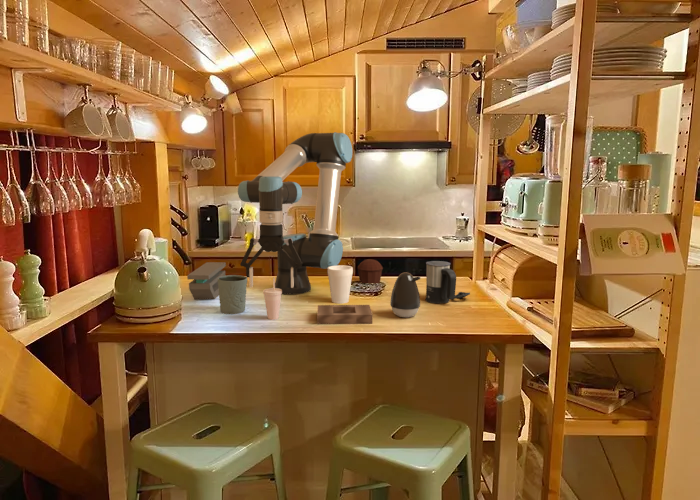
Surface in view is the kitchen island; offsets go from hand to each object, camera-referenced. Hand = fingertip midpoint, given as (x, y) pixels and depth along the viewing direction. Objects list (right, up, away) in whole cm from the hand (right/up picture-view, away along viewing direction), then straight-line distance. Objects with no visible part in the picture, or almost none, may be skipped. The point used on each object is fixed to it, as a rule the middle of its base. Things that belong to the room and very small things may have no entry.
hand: (271, 287), depth 173 cm
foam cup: (+22, -7, +24) cm, 33 cm away
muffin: (+35, -2, +55) cm, 65 cm away
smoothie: (0, -11, +2) cm, 11 cm away
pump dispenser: (+45, -10, +6) cm, 47 cm away
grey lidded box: (-30, -6, +31) cm, 44 cm away
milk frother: (+64, -7, +26) cm, 69 cm away
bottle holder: (+24, -11, +2) cm, 27 cm away
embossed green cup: (-15, -9, +10) cm, 21 cm away
